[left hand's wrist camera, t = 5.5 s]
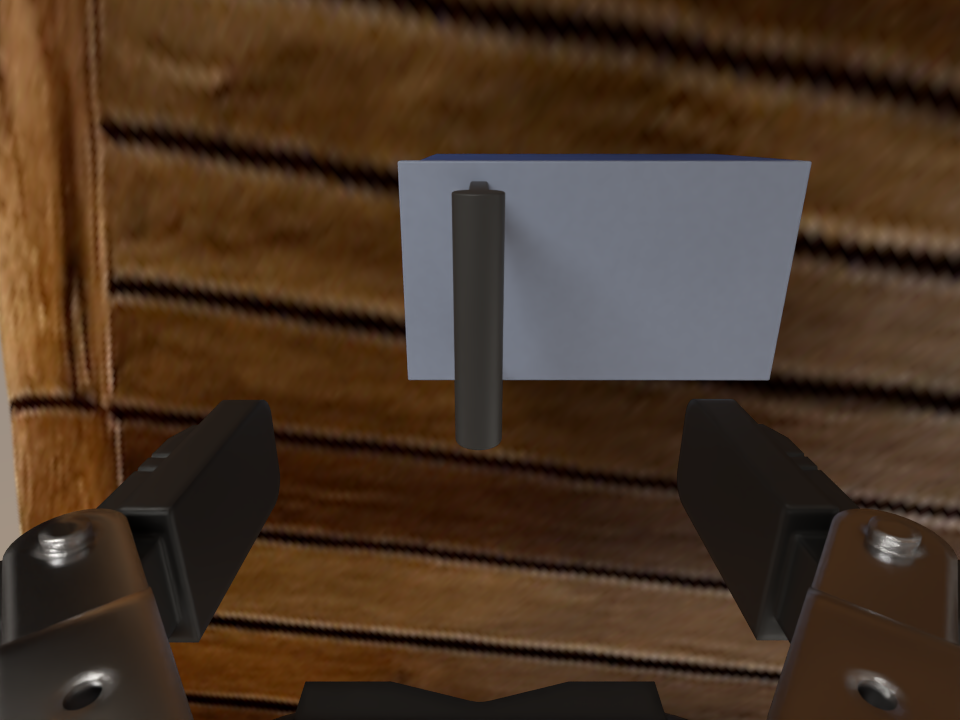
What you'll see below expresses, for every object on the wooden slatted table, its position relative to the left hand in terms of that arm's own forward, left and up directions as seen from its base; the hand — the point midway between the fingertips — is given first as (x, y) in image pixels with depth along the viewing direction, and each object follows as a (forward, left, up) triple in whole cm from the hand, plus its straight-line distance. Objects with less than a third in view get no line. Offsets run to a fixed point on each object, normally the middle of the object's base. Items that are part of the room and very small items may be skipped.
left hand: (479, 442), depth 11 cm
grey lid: (-1, +5, -14) cm, 15 cm away
